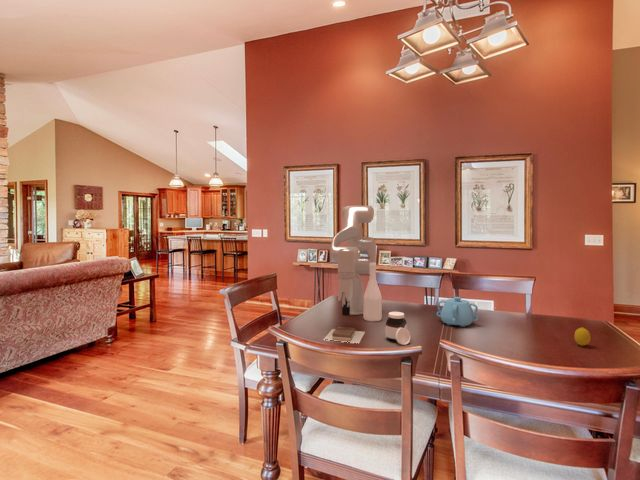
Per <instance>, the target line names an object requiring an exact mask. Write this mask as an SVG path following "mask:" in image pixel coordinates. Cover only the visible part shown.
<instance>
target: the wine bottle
mask: <svg viewBox="0 0 640 480" xmlns="http://www.w3.org/2000/svg"><path fill="white" fill-rule="evenodd" d="M369 267H370V274H369V278H368V282H367V285H366V288H365V291H364V293H363V314H362V315H363V319H364V320H365V321H367V322H372V323H375V322H380V321H381V320H382V318H383V317H382V316H383V315H382V314H383V313H382V312H383V297H382V293H381V289H380V287H379V283H378V281H377V262H376V263H373V262H372V263H370V264H369Z"/></svg>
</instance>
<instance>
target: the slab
mask: <svg viewBox="0 0 640 480" xmlns="http://www.w3.org/2000/svg"><path fill="white" fill-rule="evenodd" d="M334 329H335V331H334V332H333V333H332V340H340V341H351V340H352V338H353V336H354V335H355V331H356V328H355V327H349V326H348V327H346V326H337V327H336V328H334Z"/></svg>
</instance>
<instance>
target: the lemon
mask: <svg viewBox="0 0 640 480" xmlns="http://www.w3.org/2000/svg"><path fill="white" fill-rule="evenodd" d="M590 333H591V332H590V331H589V330H588V329H587V328H585V327H583V326H582V327H579V328H577V329H575V331H574V335H573V336H574V337H573V338H574V342H576V343H577V344H578V345H580V347H584V346H586V345H588V344H589V343H590V341H591V334H590Z"/></svg>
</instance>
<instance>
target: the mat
mask: <svg viewBox="0 0 640 480" xmlns="http://www.w3.org/2000/svg"><path fill="white" fill-rule="evenodd" d="M335 329H336V328H331V329H330V331H329V332H327V333H328V334H326V335H325V337H324V338H323V339H322V341H323V340H324V342H331V341H330V340H332V333H333V332H334V331H335ZM365 333H366V331H363V330H362V331H360V330H359V331H358V330H355V335H354V336H353V338H352V340H351V341H348V342H350V343H348V342H347V341H341V342H340V343H344V342H347V343H346V344H354V343H356V344H355V345H357V343H358V345H359V344H360V342H361V341H362V338H364V335H365ZM325 339H328V340H326V341H325ZM334 341H340V340H334Z"/></svg>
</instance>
